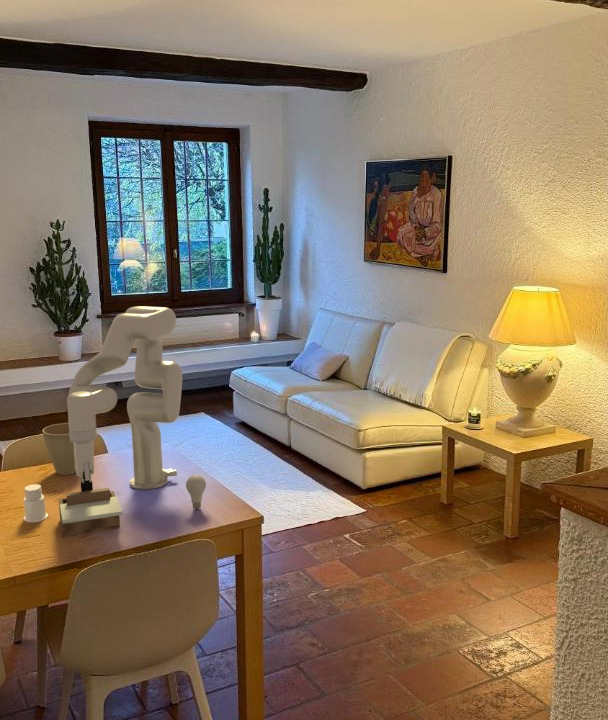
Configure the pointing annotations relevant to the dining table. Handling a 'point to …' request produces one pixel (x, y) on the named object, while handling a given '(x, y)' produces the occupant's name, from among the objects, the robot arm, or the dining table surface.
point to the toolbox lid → (89, 505)
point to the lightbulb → (196, 489)
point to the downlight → (34, 504)
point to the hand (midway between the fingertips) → (87, 494)
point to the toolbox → (88, 523)
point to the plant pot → (60, 448)
